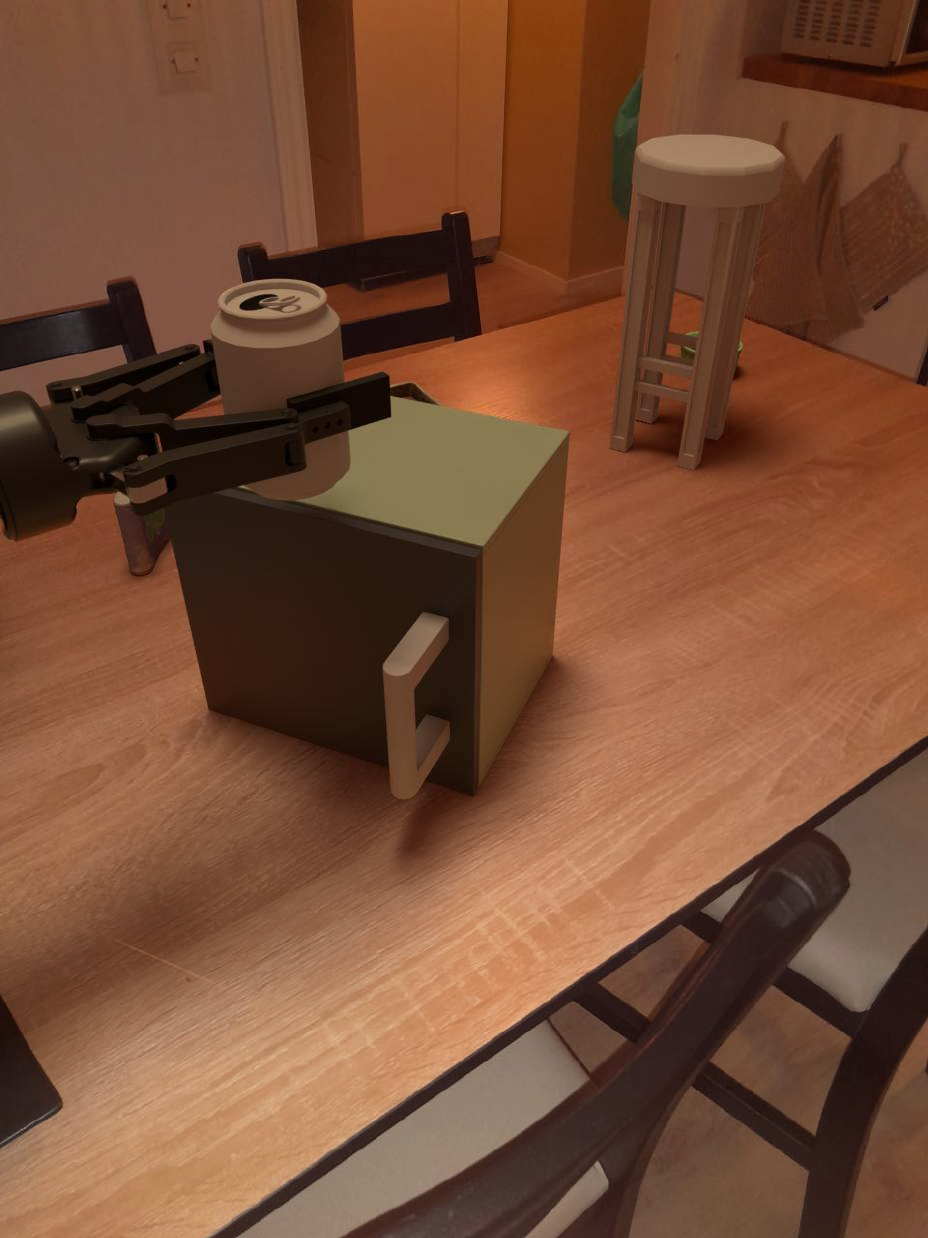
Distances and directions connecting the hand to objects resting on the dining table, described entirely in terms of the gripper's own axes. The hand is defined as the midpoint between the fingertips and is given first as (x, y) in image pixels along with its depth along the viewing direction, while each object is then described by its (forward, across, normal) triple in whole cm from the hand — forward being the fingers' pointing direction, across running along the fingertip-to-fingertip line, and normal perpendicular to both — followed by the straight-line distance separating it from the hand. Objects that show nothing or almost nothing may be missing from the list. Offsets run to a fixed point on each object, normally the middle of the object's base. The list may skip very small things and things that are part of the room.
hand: (352, 371), depth 61 cm
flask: (-4, -40, -34) cm, 52 cm away
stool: (+60, -25, -34) cm, 73 cm away
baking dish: (+28, -39, -34) cm, 59 cm away
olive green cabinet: (+5, -7, -34) cm, 35 cm away
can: (-5, 0, -6) cm, 8 cm away
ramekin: (+81, -37, -34) cm, 95 cm away
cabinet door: (-6, 0, -34) cm, 34 cm away
